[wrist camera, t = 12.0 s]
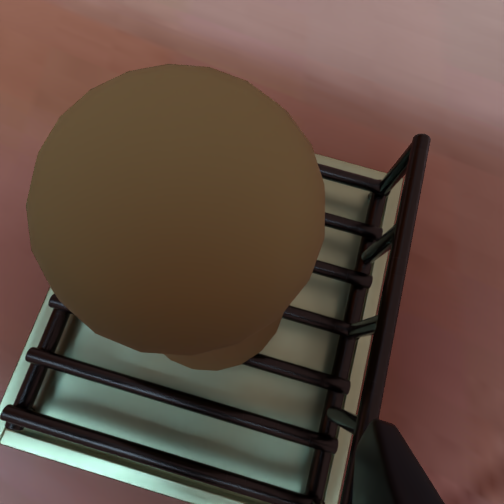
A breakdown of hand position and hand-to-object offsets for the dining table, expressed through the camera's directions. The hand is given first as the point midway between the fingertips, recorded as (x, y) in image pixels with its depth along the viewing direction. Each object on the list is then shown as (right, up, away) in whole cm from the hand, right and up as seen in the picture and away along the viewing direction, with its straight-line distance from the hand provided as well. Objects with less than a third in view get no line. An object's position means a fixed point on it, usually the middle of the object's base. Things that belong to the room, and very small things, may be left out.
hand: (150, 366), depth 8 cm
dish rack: (0, 0, +11) cm, 11 cm away
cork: (0, +1, +9) cm, 9 cm away
